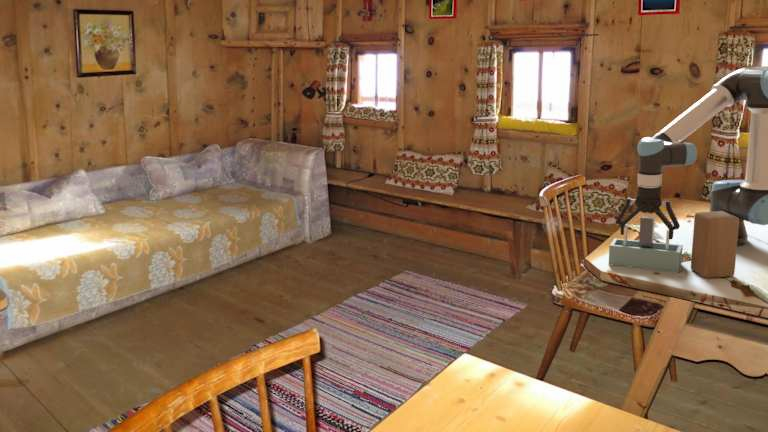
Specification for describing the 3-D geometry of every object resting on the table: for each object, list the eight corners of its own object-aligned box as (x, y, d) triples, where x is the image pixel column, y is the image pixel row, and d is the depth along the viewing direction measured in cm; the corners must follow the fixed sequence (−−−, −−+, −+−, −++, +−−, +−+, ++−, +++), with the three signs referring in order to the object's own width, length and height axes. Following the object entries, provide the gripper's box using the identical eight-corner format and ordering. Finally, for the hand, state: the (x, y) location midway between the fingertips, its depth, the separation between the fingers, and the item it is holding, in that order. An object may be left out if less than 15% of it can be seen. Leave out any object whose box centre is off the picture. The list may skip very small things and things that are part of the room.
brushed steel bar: (652, 260, 229) (654, 216, 225) (650, 264, 226) (653, 219, 222) (639, 259, 231) (642, 215, 227) (638, 262, 228) (640, 218, 223)
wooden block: (689, 269, 222) (693, 211, 217) (717, 267, 223) (722, 209, 218) (705, 279, 213) (710, 219, 207) (735, 277, 213) (741, 217, 208)
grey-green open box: (681, 264, 227) (682, 244, 225) (678, 272, 219) (679, 252, 218) (613, 256, 238) (614, 238, 236) (608, 264, 230) (609, 245, 228)
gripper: (691, 185, 219) (686, 246, 224) (612, 181, 231) (610, 239, 236) (688, 190, 212) (684, 253, 218) (608, 185, 224) (606, 245, 230)
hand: (645, 246), depth 227 cm, fingers open, 13 cm apart
